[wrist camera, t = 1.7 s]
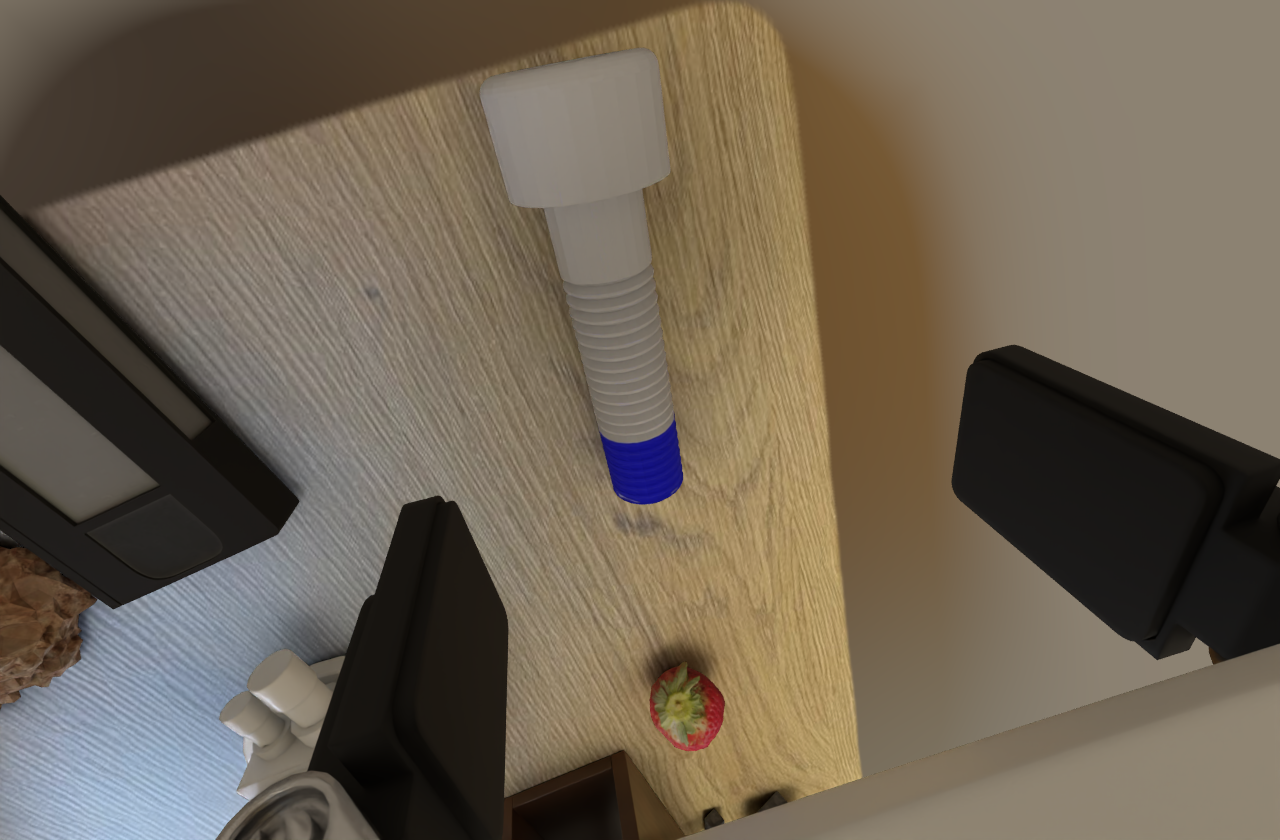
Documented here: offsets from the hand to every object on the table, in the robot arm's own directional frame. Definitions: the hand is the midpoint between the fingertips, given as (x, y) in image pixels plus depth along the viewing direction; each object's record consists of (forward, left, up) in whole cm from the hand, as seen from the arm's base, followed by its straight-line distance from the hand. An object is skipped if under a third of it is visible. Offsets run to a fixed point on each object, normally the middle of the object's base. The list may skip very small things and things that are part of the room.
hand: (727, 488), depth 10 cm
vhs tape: (-4, -19, -13) cm, 24 cm away
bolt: (0, 0, -14) cm, 14 cm away
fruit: (+24, -5, -13) cm, 28 cm away
